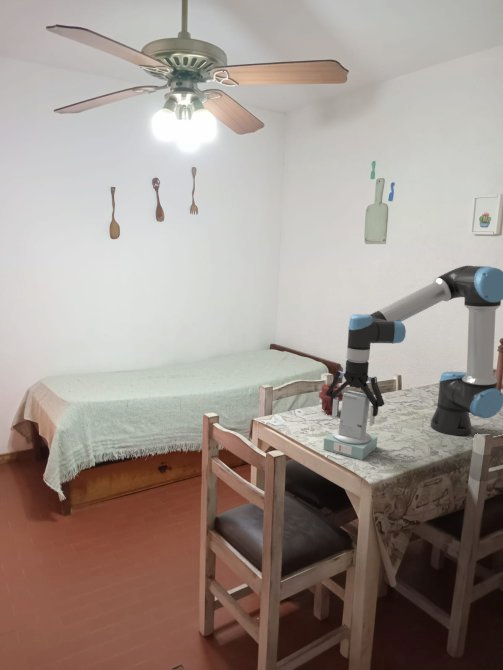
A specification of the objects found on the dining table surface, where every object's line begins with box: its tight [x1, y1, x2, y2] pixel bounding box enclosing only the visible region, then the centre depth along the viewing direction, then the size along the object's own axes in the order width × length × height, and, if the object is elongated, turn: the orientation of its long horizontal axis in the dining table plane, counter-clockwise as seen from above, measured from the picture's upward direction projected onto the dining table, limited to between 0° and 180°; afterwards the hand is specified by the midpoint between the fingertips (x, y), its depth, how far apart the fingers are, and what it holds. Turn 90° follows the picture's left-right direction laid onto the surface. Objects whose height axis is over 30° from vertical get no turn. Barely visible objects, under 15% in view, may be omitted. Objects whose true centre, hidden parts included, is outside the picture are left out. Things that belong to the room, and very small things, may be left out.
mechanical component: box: [318, 383, 343, 416], centre depth 208 cm, size 12×10×10 cm
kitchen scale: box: [323, 428, 379, 461], centre depth 170 cm, size 14×15×5 cm
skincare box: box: [338, 390, 371, 439], centre depth 169 cm, size 8×6×15 cm
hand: (352, 420), depth 169 cm, fingers open, 13 cm apart
